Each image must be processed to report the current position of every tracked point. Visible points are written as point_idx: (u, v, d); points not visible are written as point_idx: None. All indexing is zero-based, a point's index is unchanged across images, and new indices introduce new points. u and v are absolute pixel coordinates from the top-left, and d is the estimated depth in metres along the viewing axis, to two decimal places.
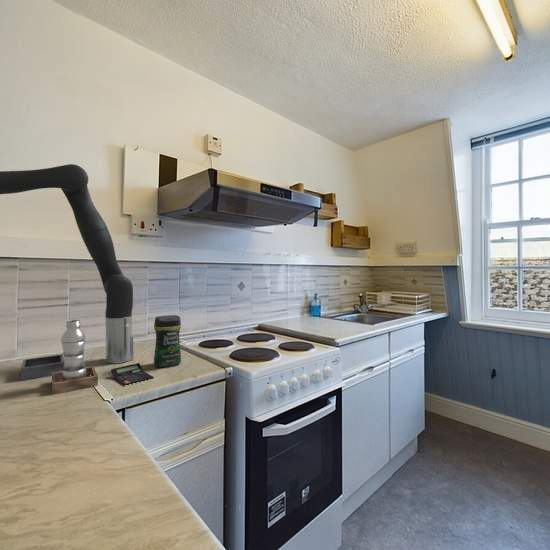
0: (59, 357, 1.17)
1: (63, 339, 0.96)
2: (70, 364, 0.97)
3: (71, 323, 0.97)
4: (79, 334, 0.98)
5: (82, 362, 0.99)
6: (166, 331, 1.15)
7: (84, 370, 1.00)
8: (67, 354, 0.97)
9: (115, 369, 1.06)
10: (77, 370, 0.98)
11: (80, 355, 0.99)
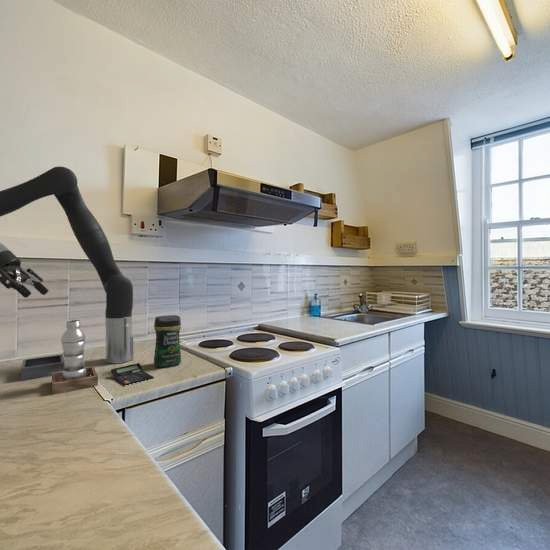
0: (59, 357, 1.17)
1: (63, 339, 0.96)
2: (70, 364, 0.97)
3: (71, 323, 0.97)
4: (79, 334, 0.98)
5: (82, 362, 0.99)
6: (166, 331, 1.15)
7: (84, 370, 1.00)
8: (67, 354, 0.97)
9: (115, 369, 1.06)
10: (77, 370, 0.98)
11: (80, 355, 0.99)
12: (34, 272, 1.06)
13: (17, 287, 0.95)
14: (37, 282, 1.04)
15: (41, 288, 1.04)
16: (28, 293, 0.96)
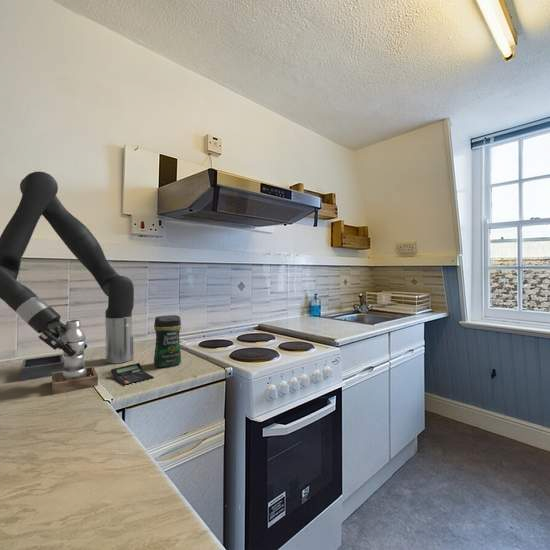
0: (59, 357, 1.17)
1: None
2: (70, 364, 0.97)
3: (71, 323, 0.97)
4: (79, 334, 0.98)
5: (82, 362, 0.99)
6: (166, 331, 1.15)
7: (84, 370, 1.00)
8: (67, 354, 0.97)
9: (115, 369, 1.06)
10: (77, 370, 0.98)
11: (80, 355, 0.99)
12: None
13: (63, 347, 0.95)
14: None
15: None
16: (74, 352, 0.96)
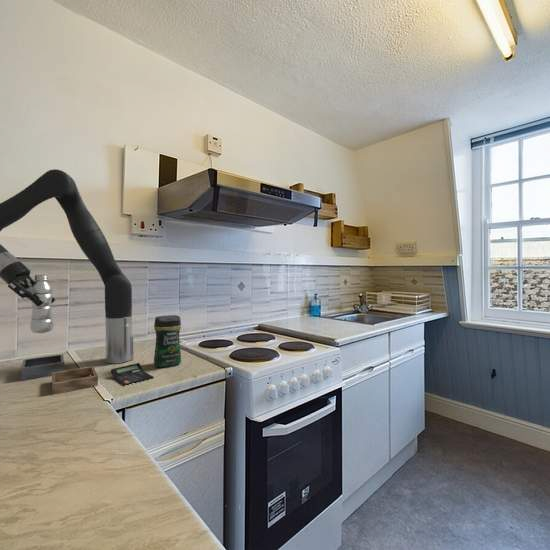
0: (59, 357, 1.17)
1: None
2: (37, 313, 1.06)
3: (39, 276, 1.07)
4: (46, 286, 1.08)
5: (49, 313, 1.09)
6: (166, 331, 1.15)
7: (51, 320, 1.09)
8: None
9: (115, 369, 1.06)
10: (44, 320, 1.07)
11: (47, 306, 1.08)
12: None
13: (31, 297, 1.04)
14: None
15: None
16: (41, 302, 1.05)
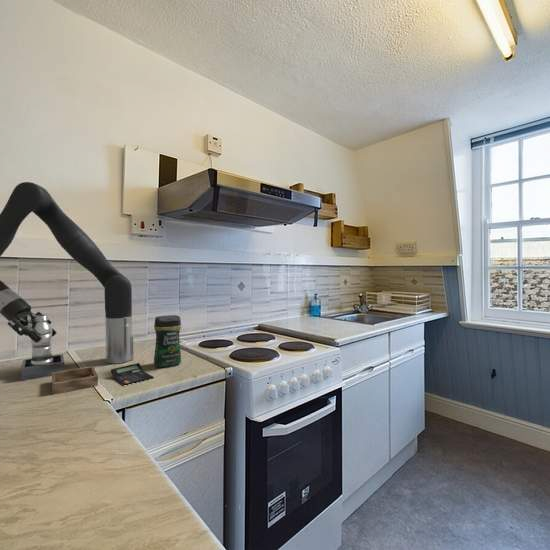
0: (59, 357, 1.17)
1: None
2: (37, 354, 1.07)
3: (38, 317, 1.07)
4: (46, 327, 1.08)
5: (49, 353, 1.09)
6: (166, 331, 1.15)
7: (51, 360, 1.10)
8: (35, 345, 1.07)
9: (115, 369, 1.06)
10: (44, 360, 1.08)
11: (47, 346, 1.09)
12: None
13: (29, 333, 1.04)
14: None
15: None
16: (39, 338, 1.05)
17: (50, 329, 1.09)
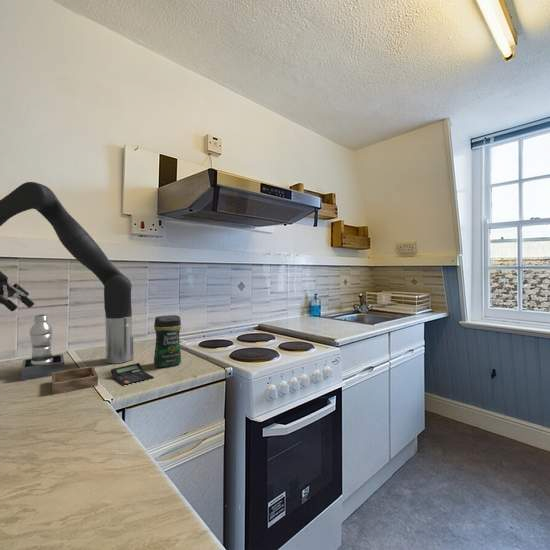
0: (59, 357, 1.17)
1: (31, 332, 1.06)
2: (37, 354, 1.07)
3: (38, 317, 1.07)
4: (46, 327, 1.08)
5: (49, 353, 1.09)
6: (166, 331, 1.15)
7: (51, 360, 1.10)
8: (35, 345, 1.07)
9: (115, 369, 1.06)
10: (44, 360, 1.08)
11: (47, 346, 1.09)
12: (20, 287, 1.16)
13: (4, 302, 1.05)
14: (23, 296, 1.14)
15: (27, 302, 1.14)
16: (14, 307, 1.06)
17: (50, 329, 1.09)
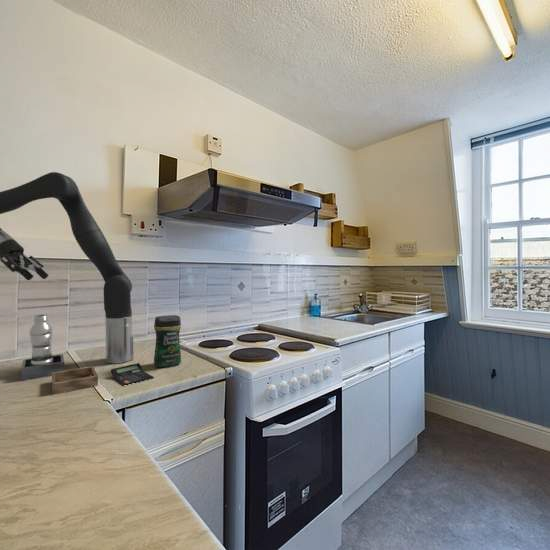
0: (59, 357, 1.17)
1: (31, 332, 1.06)
2: (37, 354, 1.07)
3: (38, 317, 1.07)
4: (46, 327, 1.08)
5: (49, 353, 1.09)
6: (166, 331, 1.15)
7: (51, 360, 1.10)
8: (35, 345, 1.07)
9: (115, 369, 1.06)
10: (44, 360, 1.08)
11: (47, 346, 1.09)
12: (35, 259, 1.20)
13: (21, 271, 1.09)
14: (38, 268, 1.18)
15: (42, 273, 1.18)
16: (30, 276, 1.10)
17: (50, 329, 1.09)
